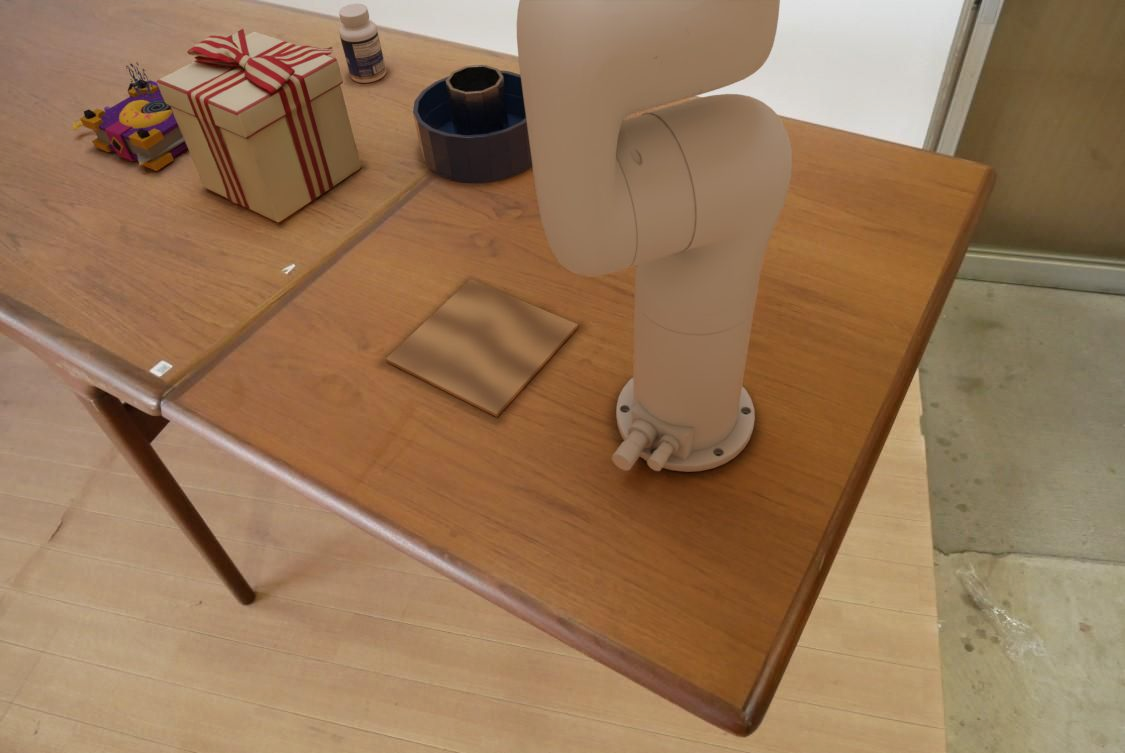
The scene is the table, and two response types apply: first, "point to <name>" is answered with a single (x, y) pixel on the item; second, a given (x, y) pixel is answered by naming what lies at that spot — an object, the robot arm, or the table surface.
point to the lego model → (137, 126)
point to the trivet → (482, 346)
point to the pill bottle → (361, 44)
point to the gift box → (263, 121)
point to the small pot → (477, 100)
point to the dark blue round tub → (472, 137)
